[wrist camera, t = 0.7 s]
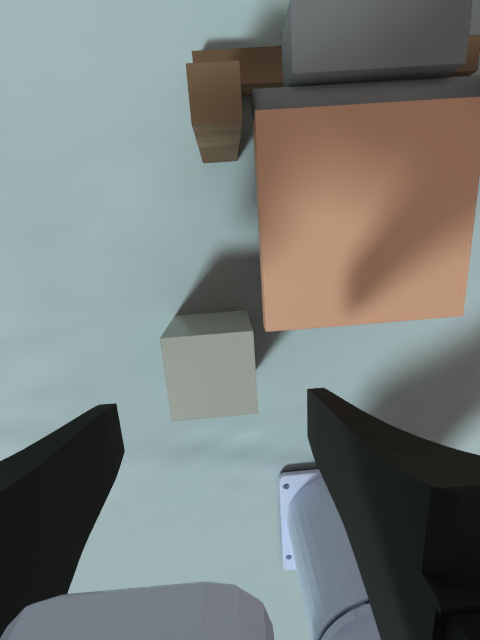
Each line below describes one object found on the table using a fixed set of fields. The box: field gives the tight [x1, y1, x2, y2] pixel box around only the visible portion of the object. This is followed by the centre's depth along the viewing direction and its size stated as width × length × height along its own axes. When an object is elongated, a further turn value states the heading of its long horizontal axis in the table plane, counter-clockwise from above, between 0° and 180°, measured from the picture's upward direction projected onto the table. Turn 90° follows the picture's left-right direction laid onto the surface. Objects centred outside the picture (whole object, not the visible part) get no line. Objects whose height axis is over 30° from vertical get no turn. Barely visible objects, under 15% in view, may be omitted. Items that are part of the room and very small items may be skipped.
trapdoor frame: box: [186, 35, 480, 163], centre depth 15 cm, size 5×15×6 cm, turn 94°
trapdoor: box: [252, 0, 480, 332], centre depth 14 cm, size 13×10×2 cm
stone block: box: [160, 310, 258, 421], centre depth 19 cm, size 5×5×5 cm
